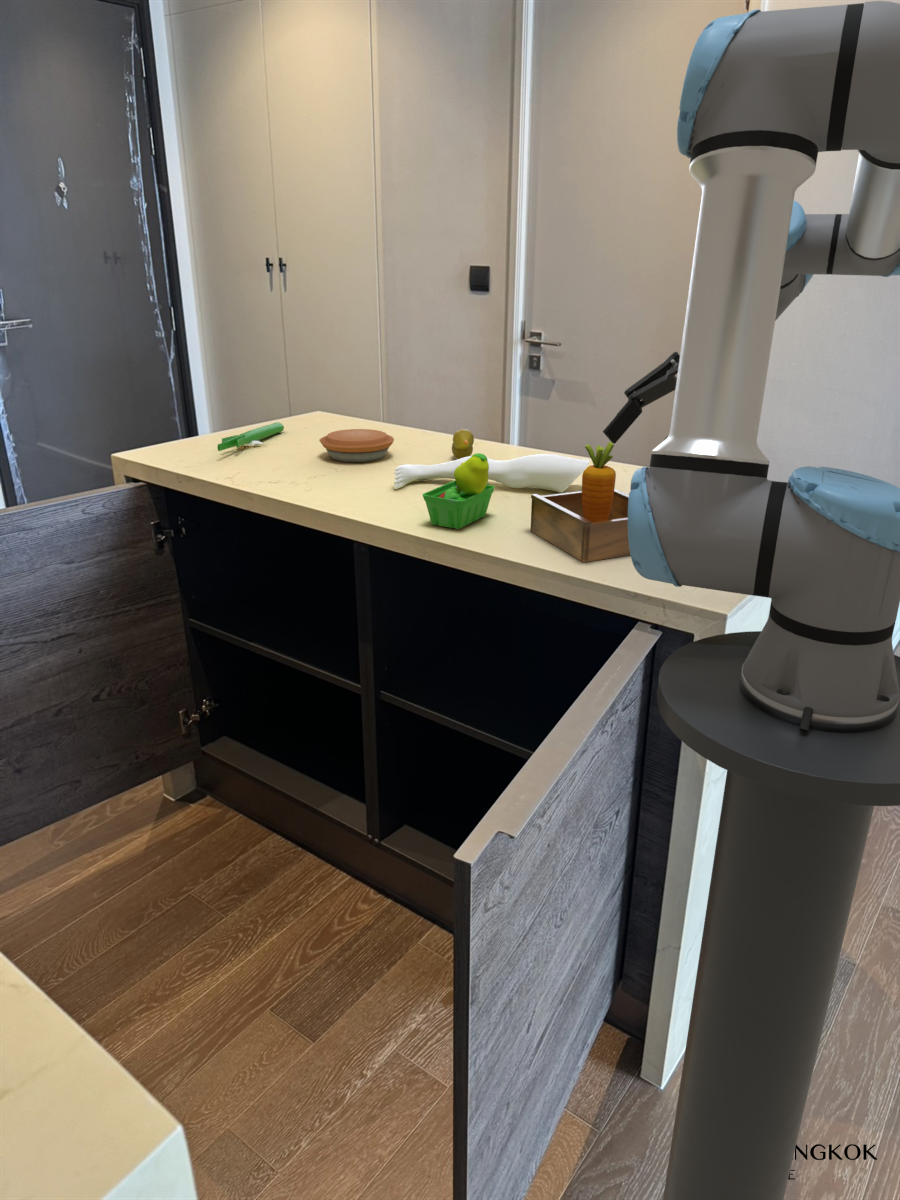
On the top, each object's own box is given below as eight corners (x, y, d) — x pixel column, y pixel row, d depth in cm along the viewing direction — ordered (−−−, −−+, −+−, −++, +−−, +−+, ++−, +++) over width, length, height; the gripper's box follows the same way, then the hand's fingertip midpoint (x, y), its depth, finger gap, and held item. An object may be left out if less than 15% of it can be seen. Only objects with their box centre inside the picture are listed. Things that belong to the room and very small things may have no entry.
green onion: (270, 435, 204) (209, 456, 177) (270, 421, 203) (208, 440, 176) (290, 436, 203) (230, 458, 176) (289, 422, 202) (229, 442, 175)
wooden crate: (663, 550, 126) (667, 511, 124) (583, 562, 121) (585, 522, 119) (604, 520, 140) (607, 485, 137) (529, 530, 135) (531, 494, 132)
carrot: (571, 540, 130) (577, 442, 125) (590, 533, 134) (596, 436, 128) (599, 547, 127) (606, 447, 122) (617, 540, 131) (625, 441, 125)
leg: (589, 460, 148) (590, 447, 158) (391, 464, 154) (403, 451, 164) (589, 498, 151) (589, 483, 160) (394, 500, 157) (406, 485, 166)
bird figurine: (455, 467, 172) (455, 435, 170) (448, 451, 186) (448, 420, 184) (477, 467, 173) (477, 434, 170) (468, 450, 186) (468, 420, 184)
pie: (361, 445, 191) (360, 422, 189) (409, 456, 181) (409, 432, 179) (305, 456, 181) (304, 432, 179) (353, 468, 171) (352, 443, 169)
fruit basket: (456, 508, 146) (456, 441, 142) (502, 516, 142) (504, 448, 138) (420, 525, 137) (419, 455, 133) (469, 534, 133) (469, 462, 128)
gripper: (801, 365, 119) (701, 482, 119) (687, 346, 140) (602, 445, 140) (777, 326, 115) (673, 447, 115) (663, 312, 136) (575, 415, 136)
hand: (634, 446), depth 127 cm, fingers open, 13 cm apart
